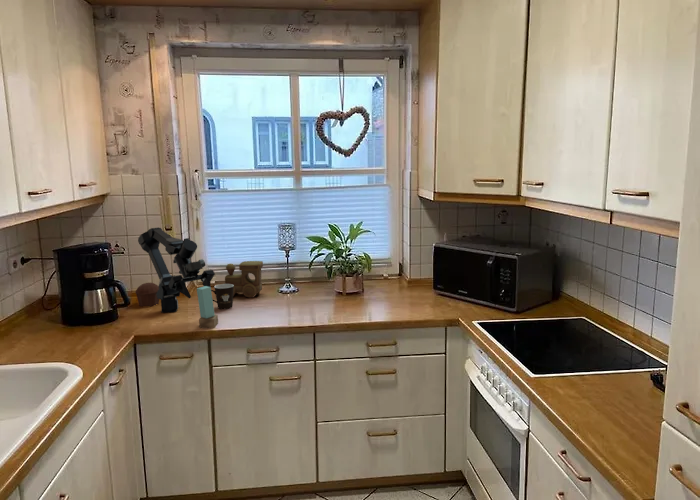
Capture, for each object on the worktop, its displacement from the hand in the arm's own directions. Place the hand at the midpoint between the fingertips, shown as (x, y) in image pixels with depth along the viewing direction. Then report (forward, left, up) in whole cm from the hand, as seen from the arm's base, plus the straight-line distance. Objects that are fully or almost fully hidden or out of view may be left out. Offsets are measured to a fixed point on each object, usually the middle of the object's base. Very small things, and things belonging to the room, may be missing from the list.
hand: (200, 295), depth 218 cm
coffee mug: (+7, +23, -12) cm, 27 cm away
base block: (+3, -4, -12) cm, 13 cm away
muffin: (-27, +37, -12) cm, 47 cm away
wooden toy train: (+16, +43, -12) cm, 47 cm away
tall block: (+3, -4, -8) cm, 9 cm away
